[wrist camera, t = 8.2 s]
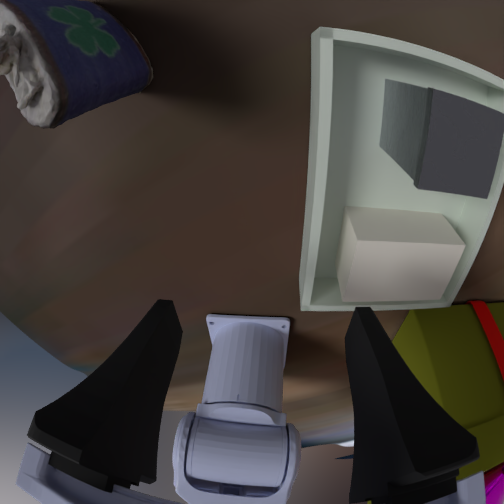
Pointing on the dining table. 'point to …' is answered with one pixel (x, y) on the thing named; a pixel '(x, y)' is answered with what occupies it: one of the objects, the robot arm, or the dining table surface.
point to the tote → (379, 155)
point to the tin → (441, 138)
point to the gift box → (463, 376)
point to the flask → (67, 58)
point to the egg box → (395, 255)
